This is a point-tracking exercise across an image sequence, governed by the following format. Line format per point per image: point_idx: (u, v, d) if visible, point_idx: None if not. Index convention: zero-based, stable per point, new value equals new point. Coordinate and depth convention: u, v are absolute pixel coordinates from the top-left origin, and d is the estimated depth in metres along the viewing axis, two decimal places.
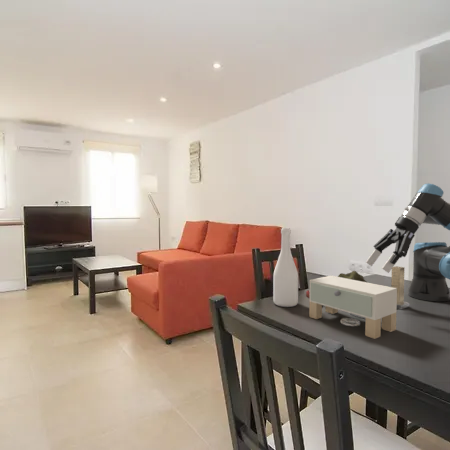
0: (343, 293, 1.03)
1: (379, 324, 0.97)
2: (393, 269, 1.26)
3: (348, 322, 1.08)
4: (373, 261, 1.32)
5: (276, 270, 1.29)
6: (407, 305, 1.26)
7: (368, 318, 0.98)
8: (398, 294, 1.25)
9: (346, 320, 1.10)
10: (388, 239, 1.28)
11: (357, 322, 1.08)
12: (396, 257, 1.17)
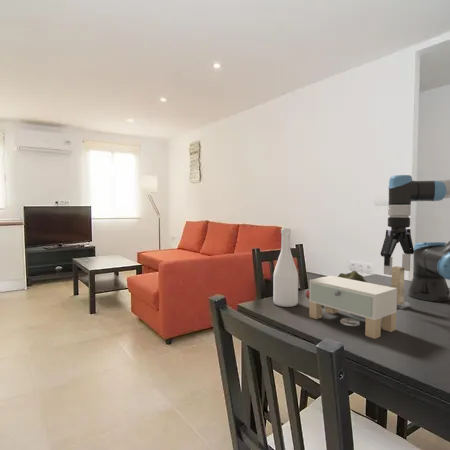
0: (343, 293, 1.03)
1: (379, 324, 0.97)
2: (393, 269, 1.26)
3: (348, 322, 1.08)
4: (407, 265, 1.29)
5: (276, 270, 1.29)
6: (407, 305, 1.26)
7: (368, 318, 0.98)
8: (398, 294, 1.25)
9: (346, 320, 1.10)
10: None
11: (357, 322, 1.08)
12: (385, 259, 1.21)
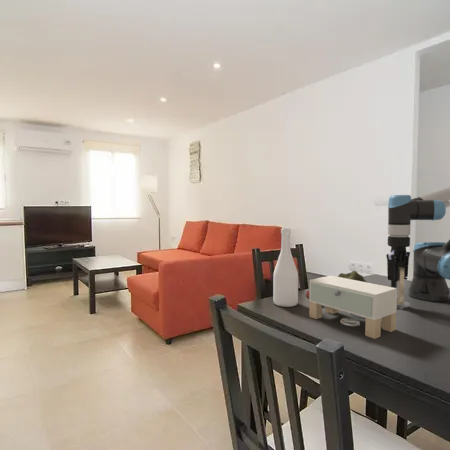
0: (343, 293, 1.03)
1: (379, 324, 0.97)
2: None
3: (348, 322, 1.08)
4: None
5: (276, 270, 1.29)
6: (407, 305, 1.26)
7: (368, 318, 0.98)
8: None
9: (346, 320, 1.10)
10: None
11: (357, 322, 1.08)
12: (392, 283, 1.25)
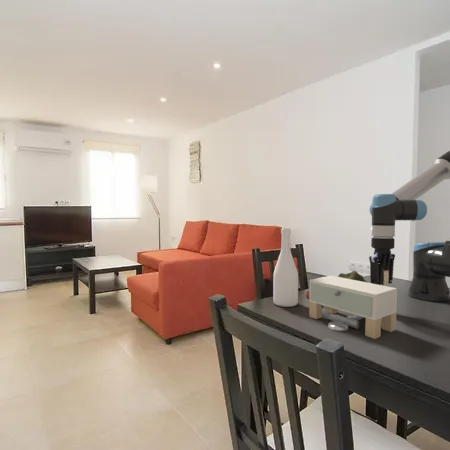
0: (343, 293, 1.03)
1: (379, 324, 0.97)
2: None
3: (336, 326, 1.04)
4: None
5: (276, 270, 1.29)
6: None
7: (368, 318, 0.98)
8: None
9: (334, 324, 1.06)
10: (381, 264, 1.21)
11: (345, 326, 1.04)
12: None
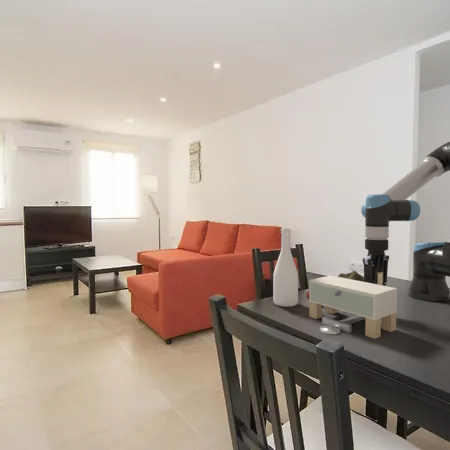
0: (343, 293, 1.03)
1: (379, 324, 0.97)
2: None
3: (328, 330, 1.01)
4: None
5: (276, 270, 1.29)
6: None
7: (368, 318, 0.98)
8: None
9: (326, 328, 1.03)
10: (375, 265, 1.19)
11: (337, 330, 1.01)
12: None
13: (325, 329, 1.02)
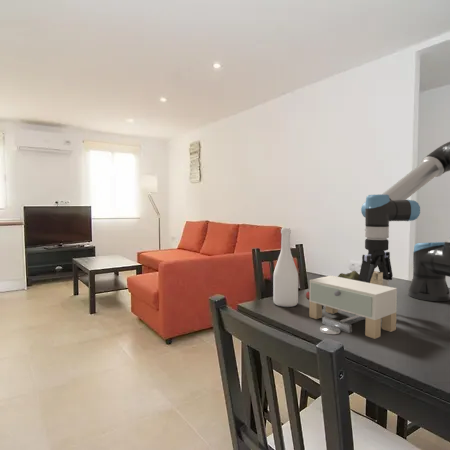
0: (343, 293, 1.03)
1: (379, 324, 0.97)
2: None
3: (328, 330, 1.01)
4: None
5: (276, 270, 1.29)
6: None
7: (368, 318, 0.98)
8: None
9: (326, 328, 1.03)
10: (377, 264, 1.20)
11: (337, 330, 1.01)
12: None
13: (325, 329, 1.02)
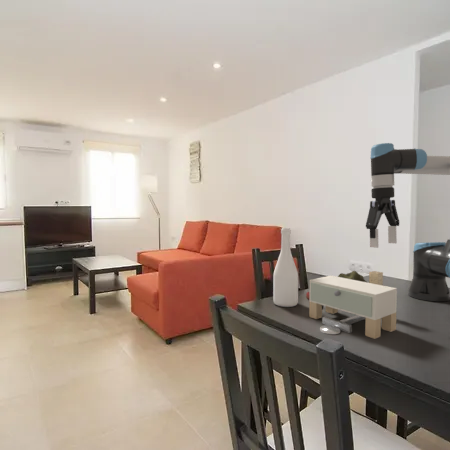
0: (343, 293, 1.03)
1: (379, 324, 0.97)
2: (371, 274, 1.17)
3: (328, 330, 1.01)
4: (393, 238, 1.25)
5: (276, 270, 1.29)
6: None
7: (368, 318, 0.98)
8: None
9: (326, 328, 1.03)
10: (384, 212, 1.24)
11: (337, 330, 1.01)
12: (371, 231, 1.17)
13: (325, 329, 1.02)
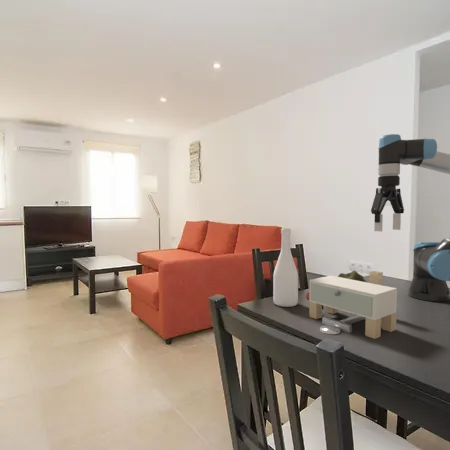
0: (343, 293, 1.03)
1: (379, 324, 0.97)
2: (371, 274, 1.17)
3: (328, 330, 1.01)
4: (397, 224, 1.33)
5: (276, 270, 1.29)
6: None
7: (368, 318, 0.98)
8: None
9: (326, 328, 1.03)
10: (389, 200, 1.32)
11: (337, 330, 1.01)
12: (375, 216, 1.25)
13: (325, 329, 1.02)
